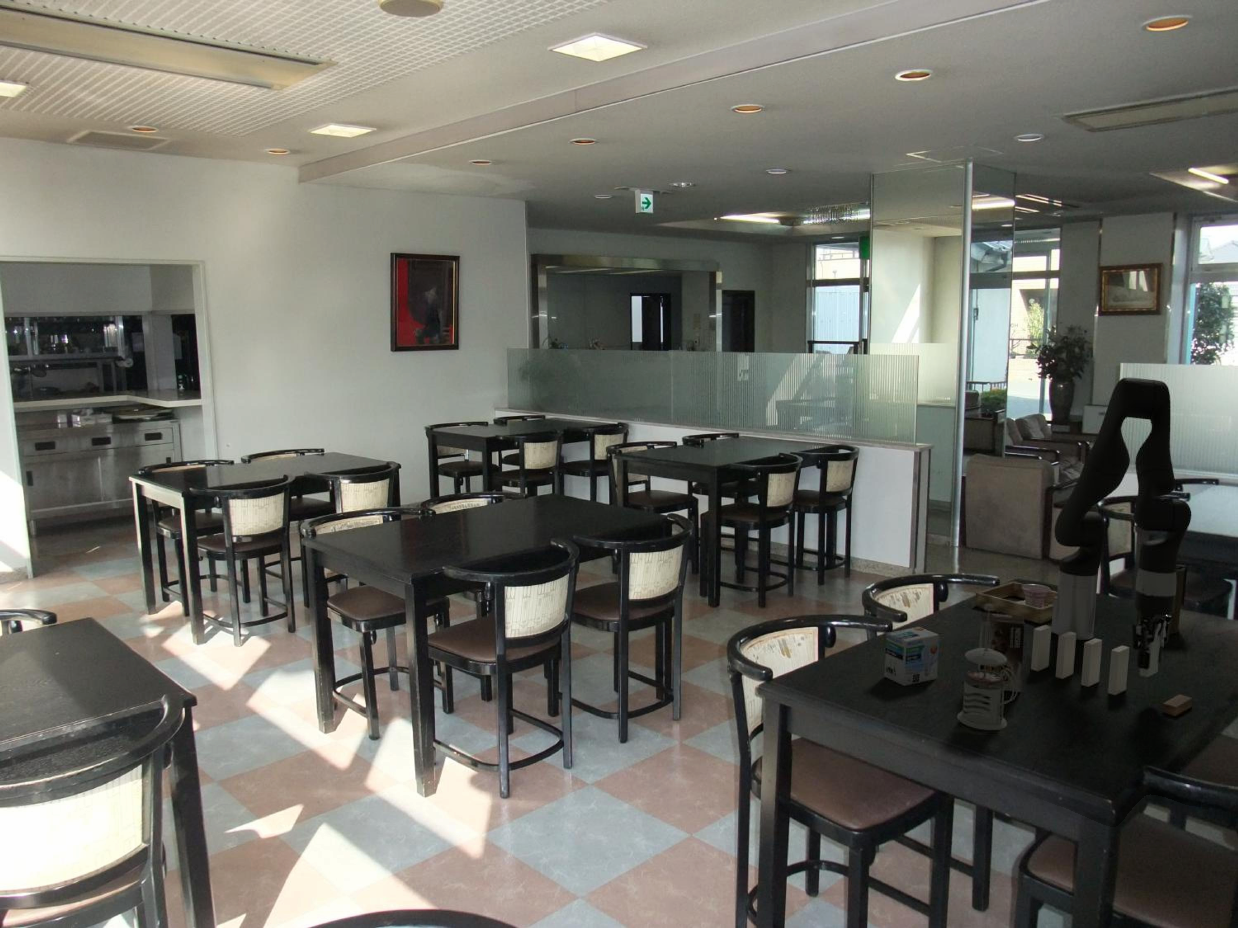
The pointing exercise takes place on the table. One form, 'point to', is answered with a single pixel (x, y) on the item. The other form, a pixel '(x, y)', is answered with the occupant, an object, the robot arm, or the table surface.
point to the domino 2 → (1065, 655)
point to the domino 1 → (1041, 647)
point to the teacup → (1035, 595)
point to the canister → (1179, 598)
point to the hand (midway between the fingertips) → (1148, 664)
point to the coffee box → (1004, 646)
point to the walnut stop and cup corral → (1044, 615)
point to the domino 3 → (1091, 662)
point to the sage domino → (1152, 658)
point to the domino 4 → (1118, 670)
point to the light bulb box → (911, 656)
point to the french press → (985, 689)
